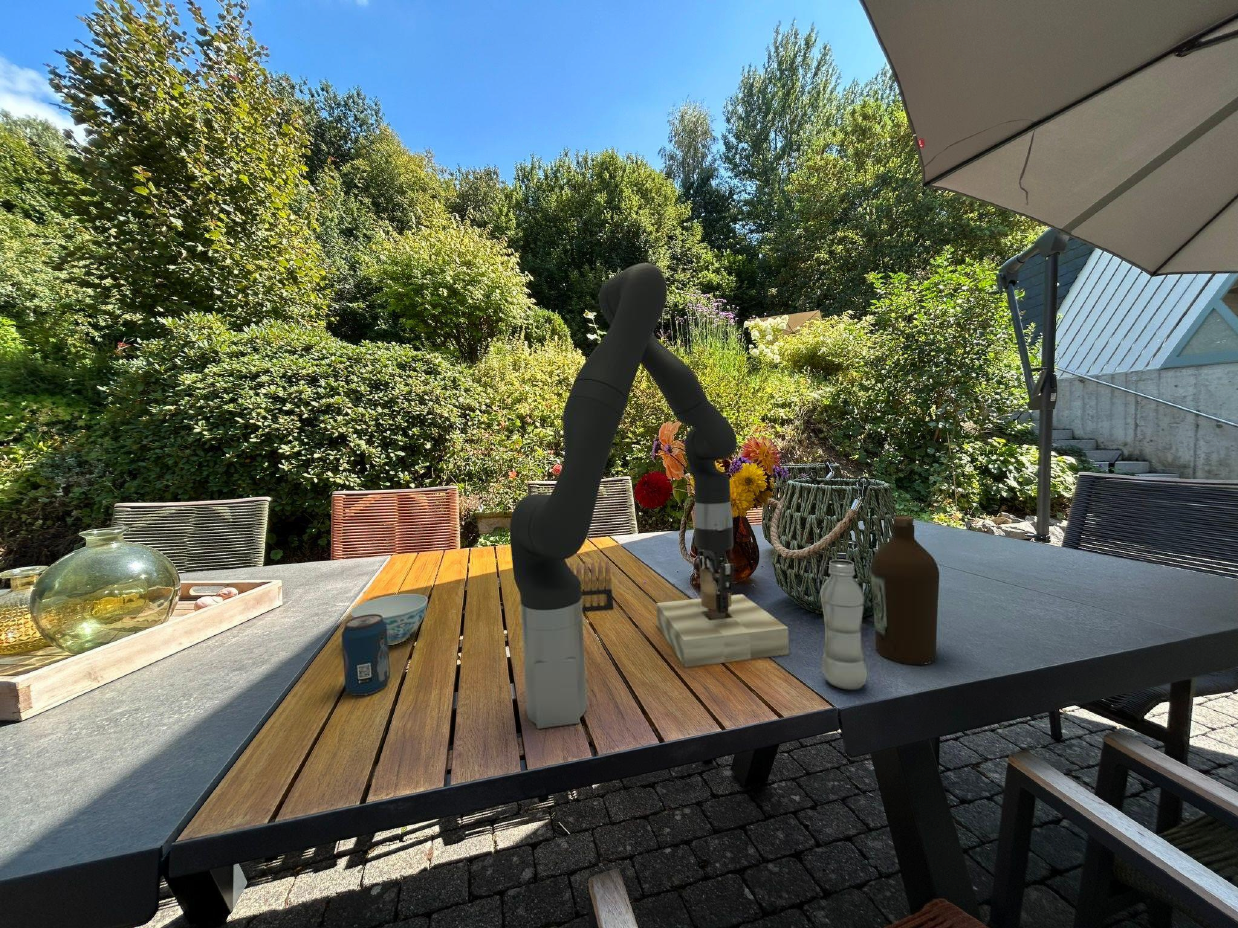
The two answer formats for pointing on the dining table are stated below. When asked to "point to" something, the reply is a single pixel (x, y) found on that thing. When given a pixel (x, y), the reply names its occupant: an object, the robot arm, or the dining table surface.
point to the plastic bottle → (843, 627)
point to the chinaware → (396, 613)
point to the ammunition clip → (595, 587)
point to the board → (721, 632)
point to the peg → (710, 595)
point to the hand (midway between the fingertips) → (716, 606)
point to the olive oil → (905, 597)
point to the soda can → (365, 654)
